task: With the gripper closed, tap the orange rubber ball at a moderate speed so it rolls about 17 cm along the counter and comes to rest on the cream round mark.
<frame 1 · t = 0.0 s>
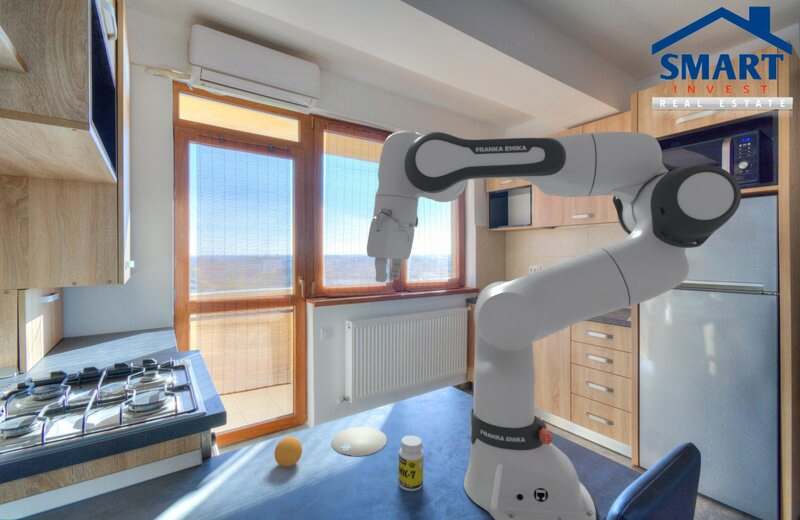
hand: (387, 280, 71), 39 cm above the countertop, tool pointing down, fingers open, 8 cm apart
ball: (288, 451, 72), on the countertop
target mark: (359, 440, 82), on the countertop
supplement bottle: (410, 485, 67), on the countertop
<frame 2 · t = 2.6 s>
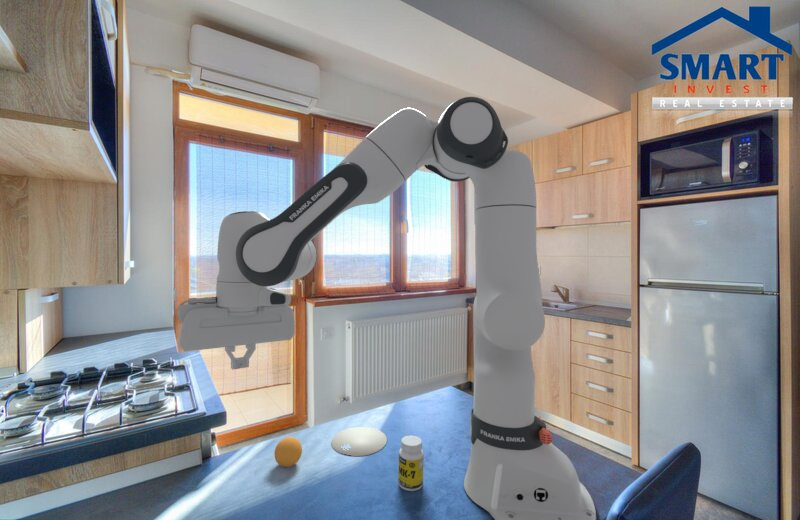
hand: (239, 367, 67), 22 cm above the countertop, tool pointing down, fingers closed
nothing on the countertop moved.
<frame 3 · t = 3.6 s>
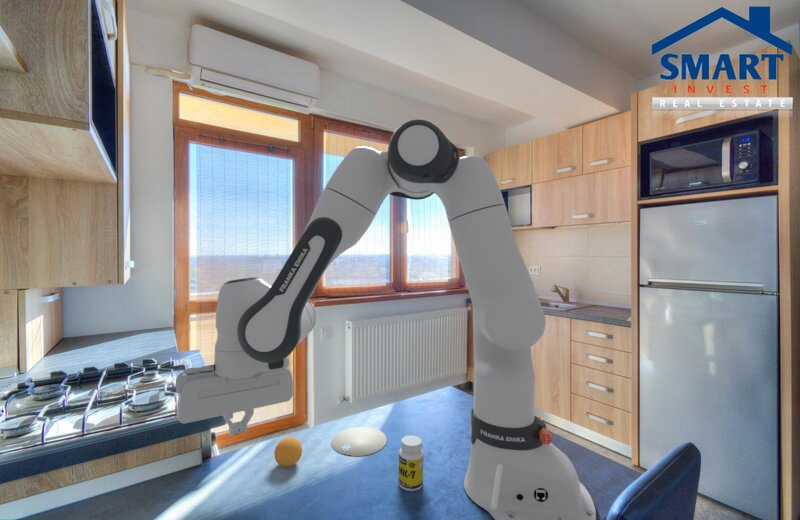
hand: (237, 432, 67), 9 cm above the countertop, tool pointing down, fingers closed
nothing on the countertop moved.
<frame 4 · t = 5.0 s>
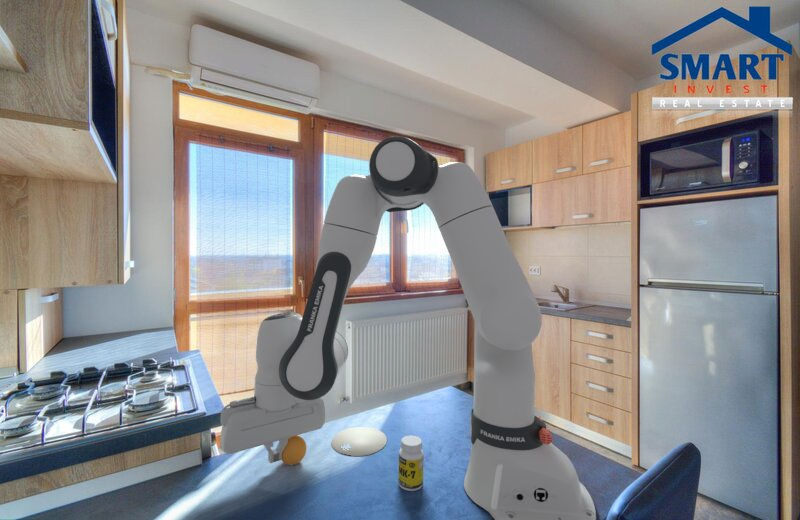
hand: (274, 460, 71), 2 cm above the countertop, tool pointing down, fingers closed
ball: (292, 449, 73), on the countertop, touching gripper
everything else where it was.
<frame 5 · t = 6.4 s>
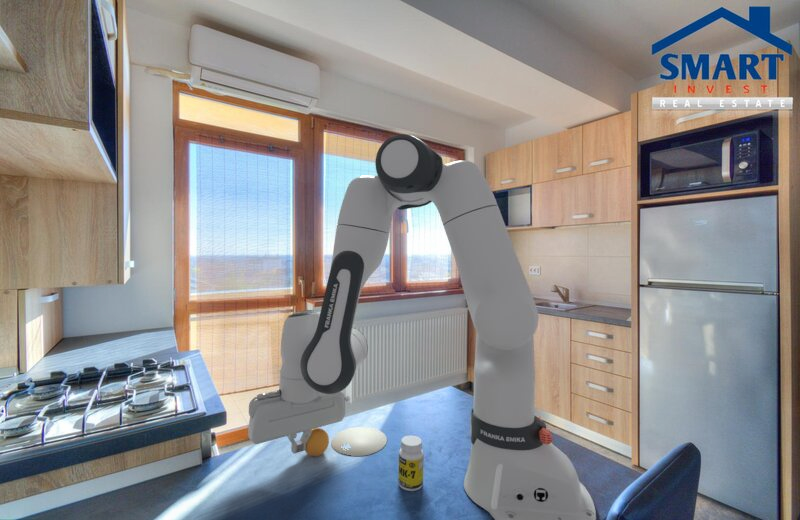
hand: (298, 450, 74), 2 cm above the countertop, tool pointing down, fingers closed
ball: (316, 441, 76), on the countertop, touching gripper
everything else where it was.
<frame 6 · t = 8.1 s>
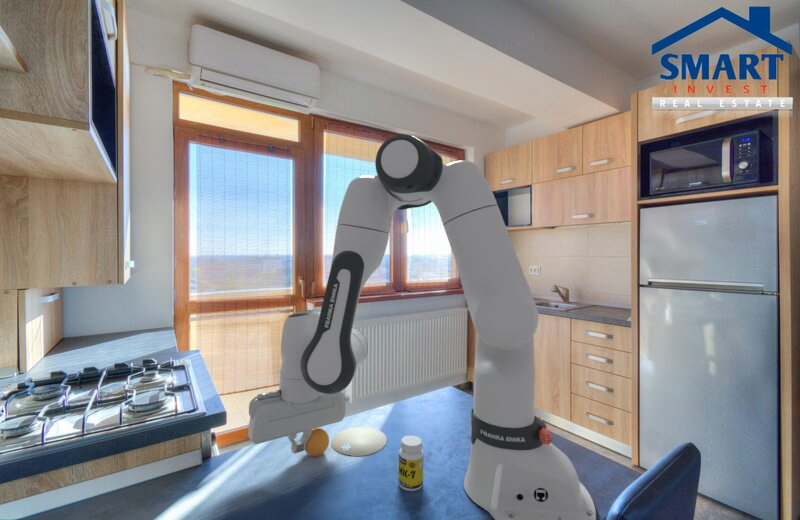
hand: (298, 450, 74), 2 cm above the countertop, tool pointing down, fingers closed
nothing on the countertop moved.
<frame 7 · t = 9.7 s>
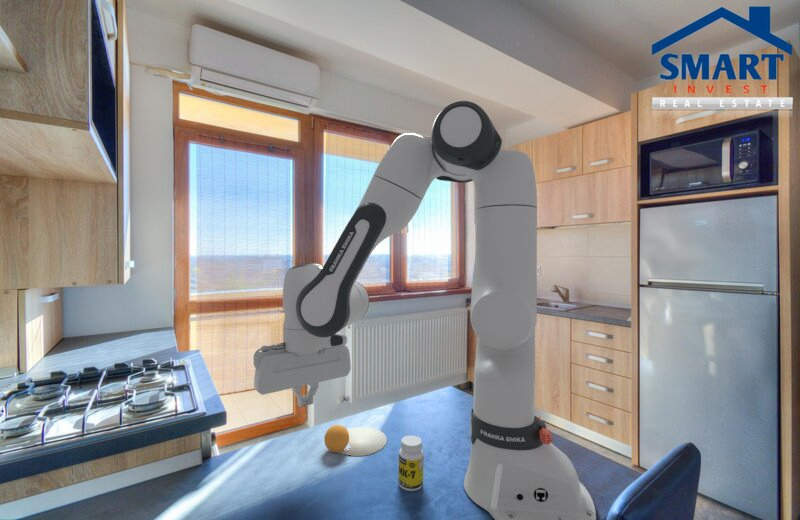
hand: (305, 404, 74), 12 cm above the countertop, tool pointing down, fingers closed
ball: (336, 438, 78), on the countertop
everything else where it was.
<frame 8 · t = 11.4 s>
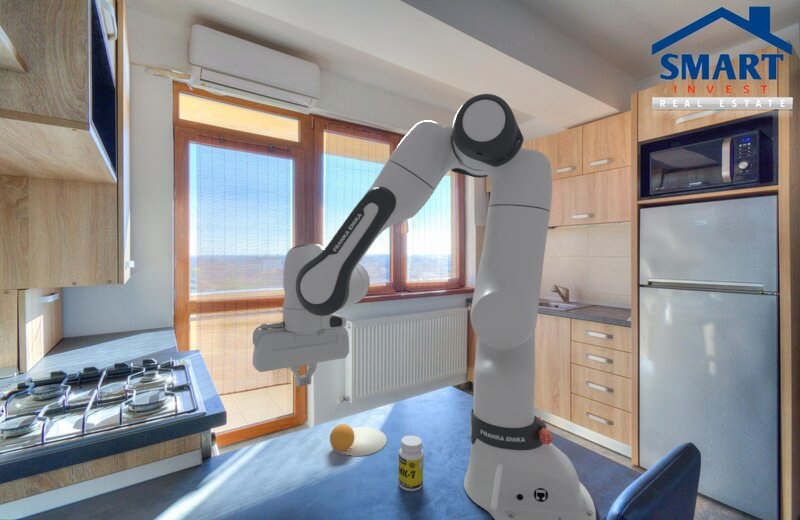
hand: (303, 384, 74), 16 cm above the countertop, tool pointing down, fingers closed
ball: (342, 437, 79), on the countertop
everything else where it was.
at the end: ball 5.3 cm from the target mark (horizontally); ball at rest at the end (0.0 cm/s); ball moved 11.9 cm from its start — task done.
